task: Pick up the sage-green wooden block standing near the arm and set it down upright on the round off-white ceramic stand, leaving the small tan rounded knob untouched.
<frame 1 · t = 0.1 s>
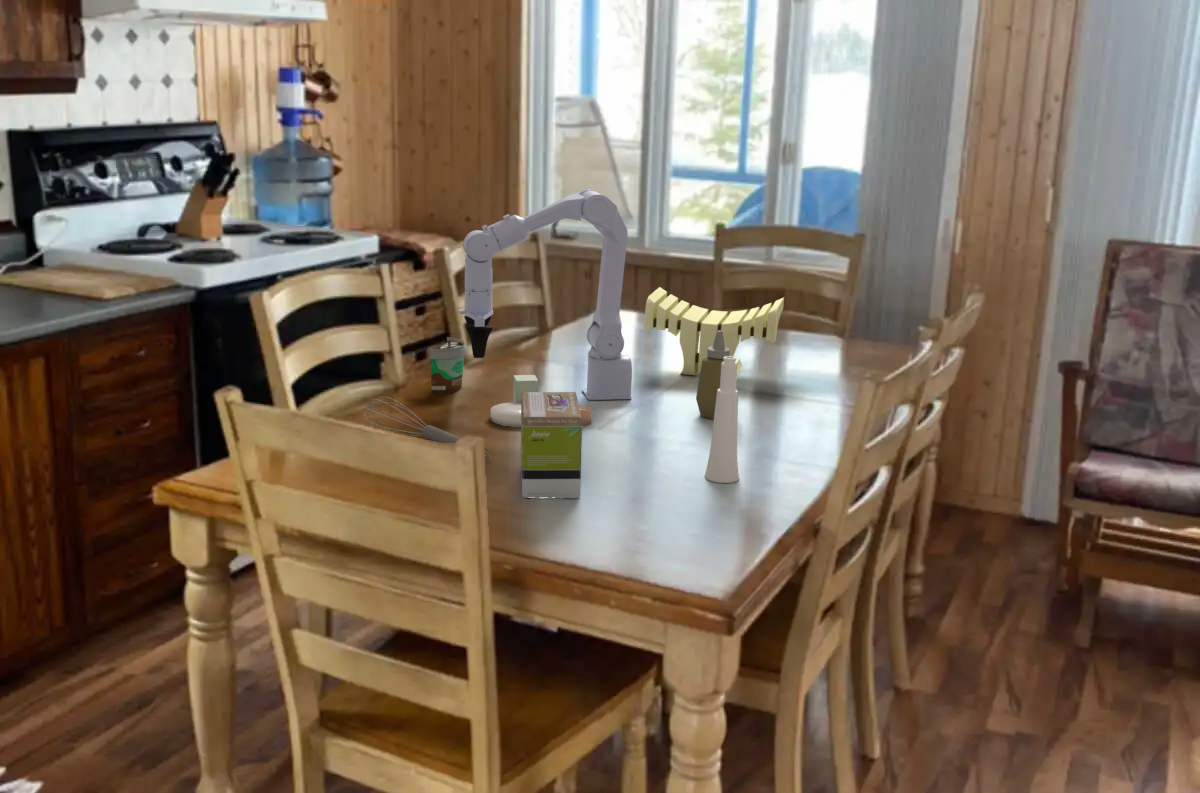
hand: (478, 353, 254), 10 cm above the table, tool pointing down, fingers open, 7 cm apart
squeeze bottle: (714, 416, 251), on the table
food container: (452, 389, 264), on the table
cosmetic bottle: (721, 478, 214), on the table
tea box: (549, 485, 208), on the table
sage block: (525, 405, 254), on the table
kitchen whisk: (427, 443, 228), on the table
slatted curved stool: (711, 372, 286), on the table
stand: (517, 419, 243), on the table
tan rounded knob: (579, 422, 243), on the table
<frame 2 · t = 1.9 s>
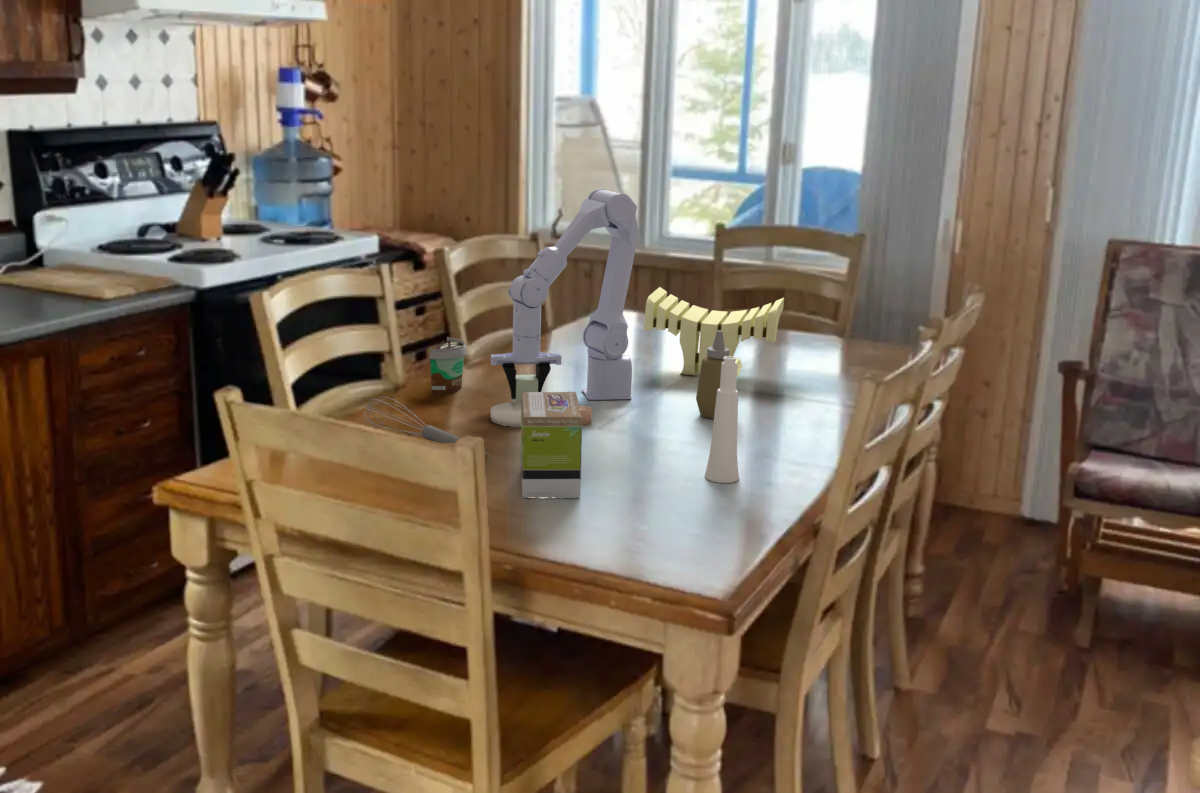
hand: (525, 397, 253), 2 cm above the table, tool pointing down, fingers closed on sage block, 4 cm apart
sage block: (525, 405, 254), on the table, touching gripper
everything else where it was.
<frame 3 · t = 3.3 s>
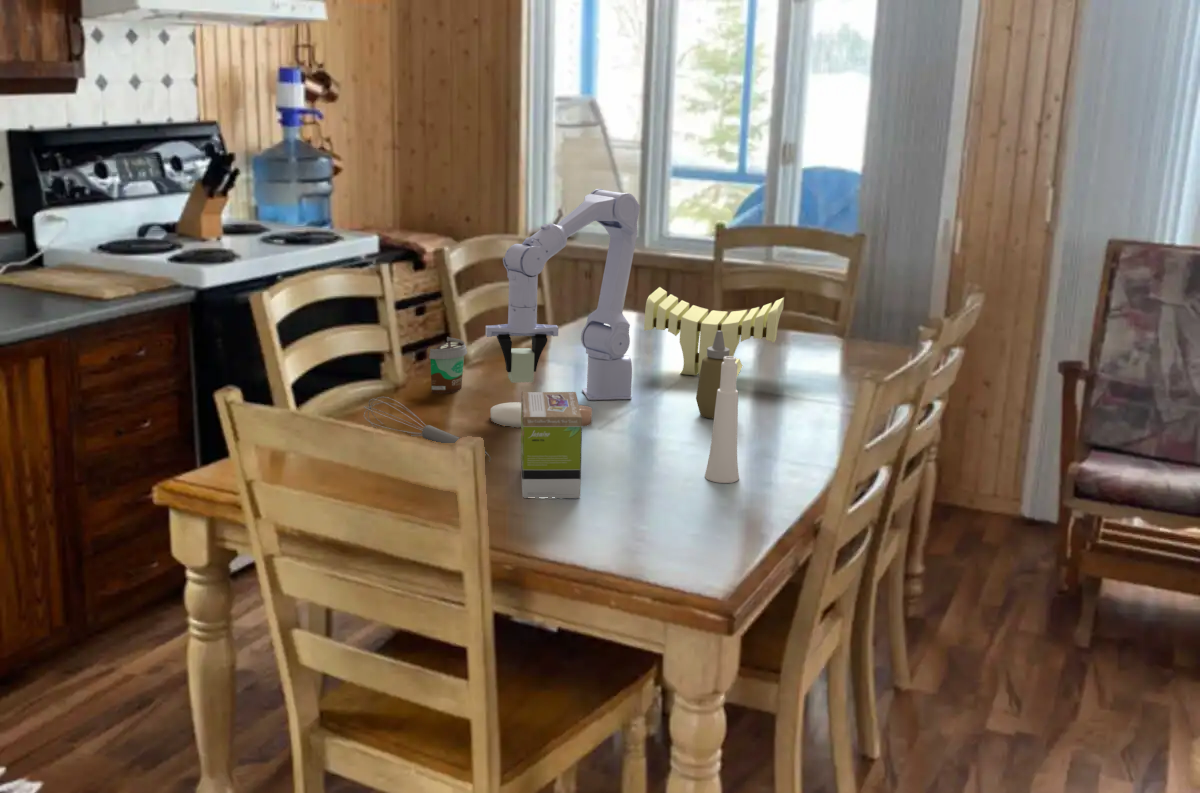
hand: (521, 370, 245), 9 cm above the table, tool pointing down, fingers closed on sage block, 4 cm apart
sage block: (520, 379, 246), point 7 cm above the table, touching gripper
everything else where it was.
when the fingers open (5 cm above the table, at t = 4.8 s): sage block stays where it is, resting on stand.
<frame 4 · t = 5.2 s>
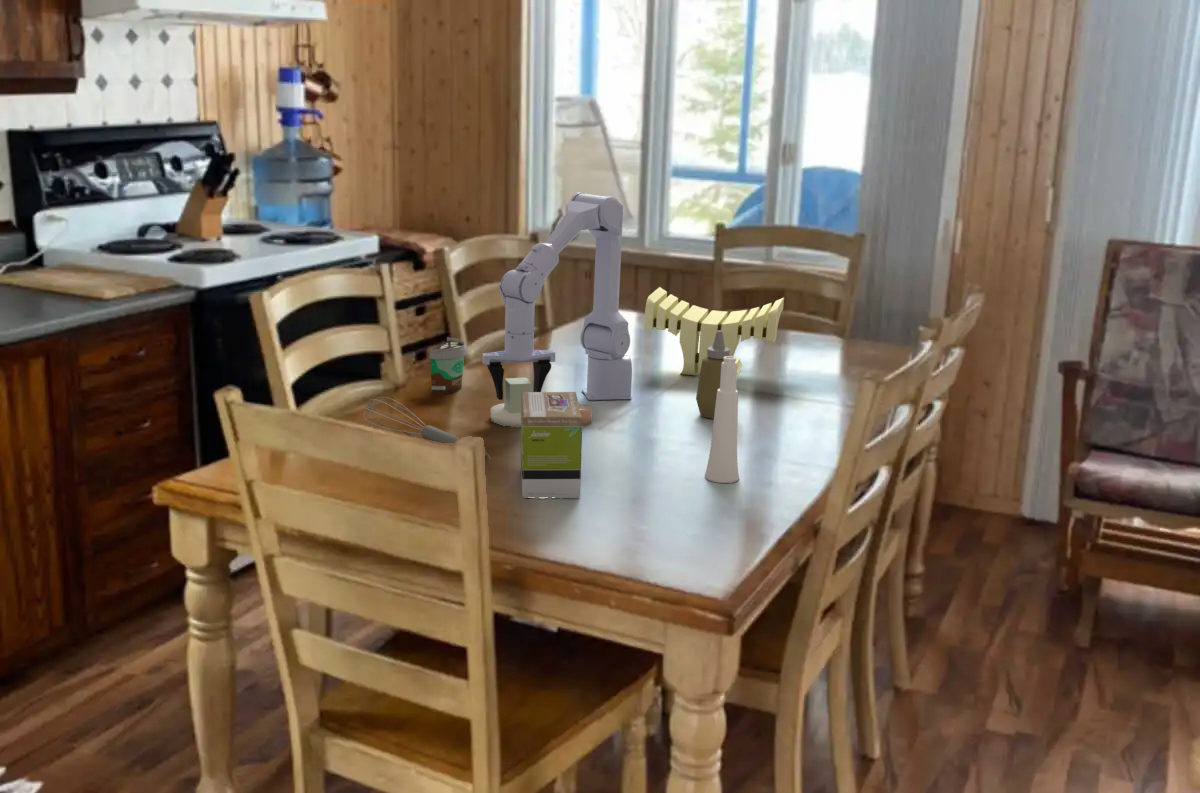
hand: (518, 397, 242), 5 cm above the table, tool pointing down, fingers open, 7 cm apart
sage block: (517, 409, 243), point 2 cm above the table, touching stand
everything else where it was.
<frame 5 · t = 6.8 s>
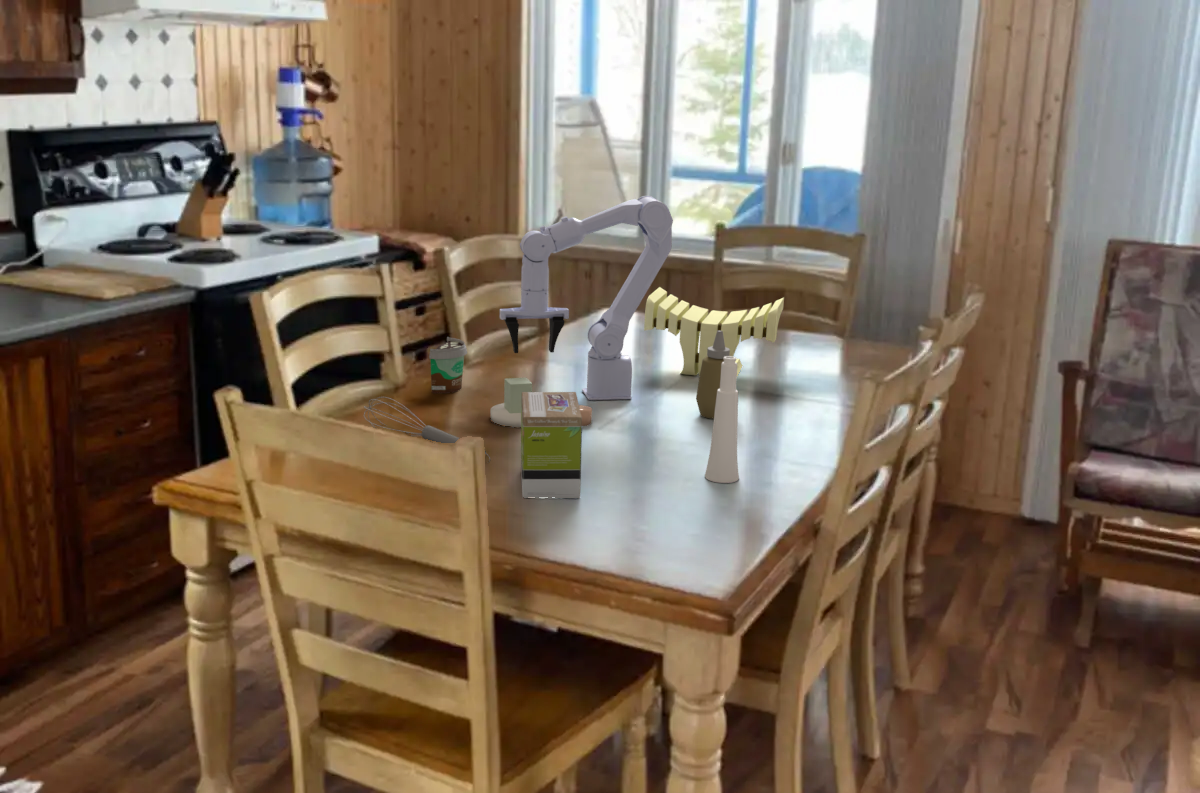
hand: (533, 351, 258), 10 cm above the table, tool pointing down, fingers open, 7 cm apart
nothing on the table moved.
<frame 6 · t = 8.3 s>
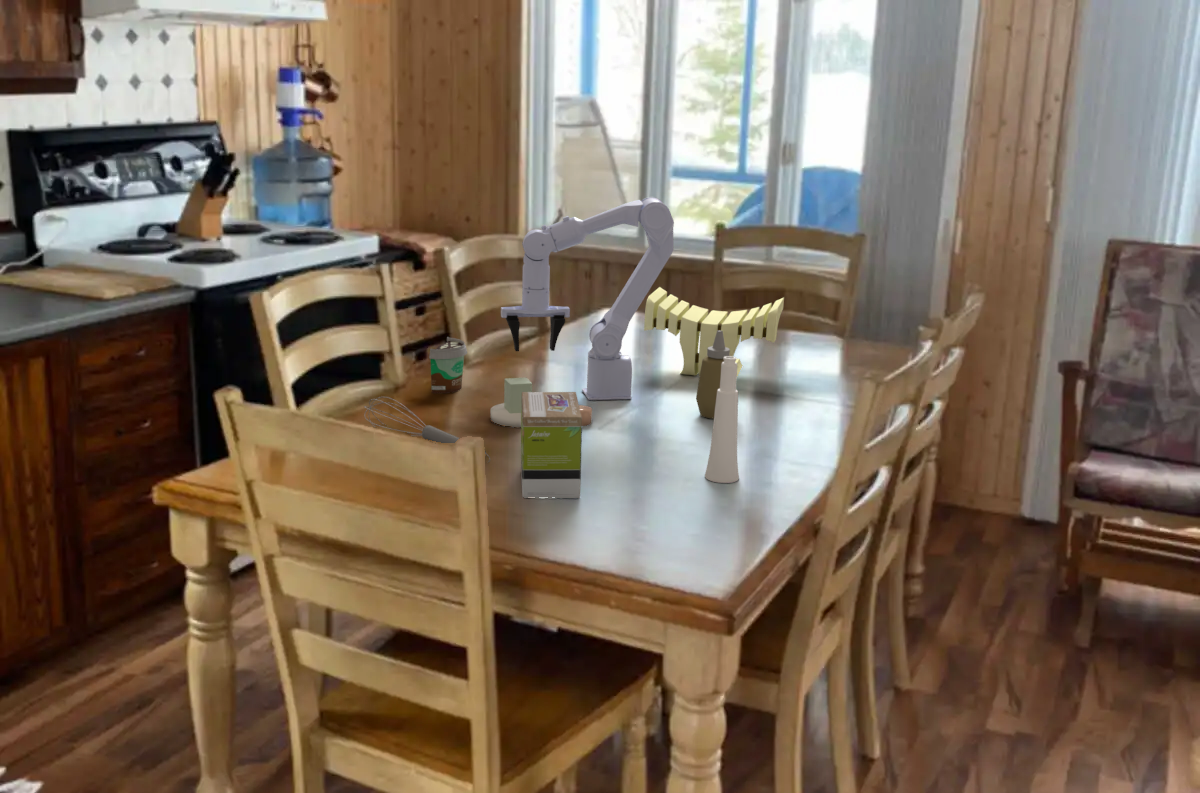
hand: (534, 349, 259), 10 cm above the table, tool pointing down, fingers open, 7 cm apart
nothing on the table moved.
at the end: sage block inside the target area on the stand (0.2 cm from its centre), point 2.0 cm above the stand's base; sage block tilted 0°; the gripper is holding nothing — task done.
